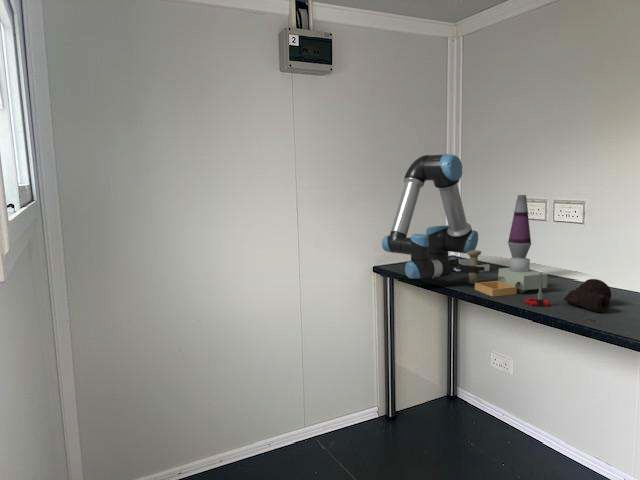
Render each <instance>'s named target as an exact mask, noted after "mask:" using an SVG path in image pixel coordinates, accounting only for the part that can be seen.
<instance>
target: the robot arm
mask: <svg viewBox="0 0 640 480" xmlns="http://www.w3.org/2000/svg"><path fill="white" fill-rule="evenodd" d="M462 163H463V162H462V161H461V159H460V158H459V157H458V155H456V154H455V155H454V154H448V153H447V154H446V153H444V154H427V155H425V154H423V155H422V156H419V157H418V158H416V159H415V160H414V161H413V162H412V163H411V164H410V166H409V167H408V169H407V171H406V172H405V174H404V179H403V183H404V186H403V189H402V192H401V196H400V198H399V199H400V200H399V201H398V202H399V203H398V207H397V210H396V213H395V216H394V219H393V223H392V226H391V229H390V233H389V235H385V236H384V237H383V238H382V241H381V247H382V249H383V250H384V251H385V252H388V253H391V254H394V253H395V254H401V255H402V254H404V255H408V256H409V255H410V261H407V262H406V263H405V266H404V272H405V275H406V277H407V278H408V279H418V280H419V279H423V278H424V279H425V278H432V279H434V278H435V277H436V278H437V277H448V276H449V275H450V274H451V273H456V274H461V273H463V274H469V273H476V274H478V275H479V273H480V272H490V264H480V265H479V264H478V265H476V266H469V265H470V258H469V259H468V258H467V259H459V258H455V259H450V257H449V252H450V253H460V254H467V251H471V250H477V245H478V243H479V232H478V231H477V230H473V229H472V225H471V224H470V223H469V222H468V221H467V217H466V214H465V211H464V210H465V209H464V206H463V202H462V198H461V195H460V193H461V192H460V190H459V189H460V188H459V186H458V183H459V182H460V180H461V178H462V175H463V164H462ZM427 181H433V185H434V187H435V188H437V189H438V191H439V195H440V199H441V201H442V205H443V209H444V212H445V218H446V221H447V224H448V225H435V226H428V227H427V228H426V231H425V234H424V233H413V234H412V235H411V237H407V235H408V232H409V229H410V225H411V224H412V223H411V222H412V218H413V216H414V212H415V208H416V205H417V201H418V198H419V195H420V191H421V188H423V187H424V185H425V183H426V182H427Z"/></svg>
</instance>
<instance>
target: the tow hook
mask: <svg viewBox="0 0 640 480" xmlns="http://www.w3.org/2000/svg"><path fill="white" fill-rule="evenodd" d="M542 273H543V272H542ZM542 273H540V278H539V291H537V297H535V298H534V297H530V298H525V299H524V302H525V304H529V305H530V306H535V307H536V306H537V307H549V306H550V302H549V301H548V300H546V299H543V291H542V281H543V278H542Z"/></svg>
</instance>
